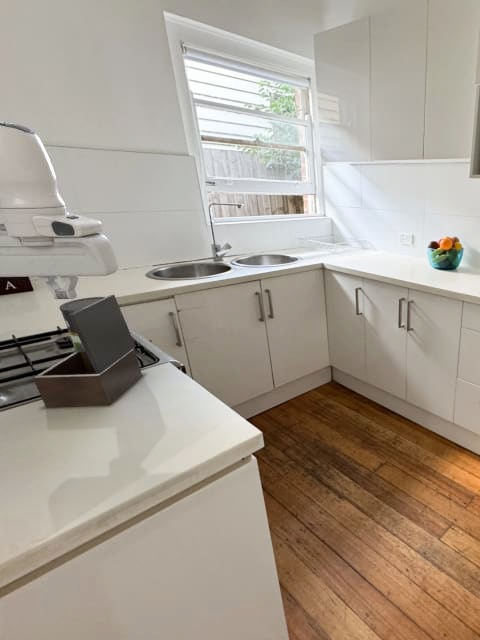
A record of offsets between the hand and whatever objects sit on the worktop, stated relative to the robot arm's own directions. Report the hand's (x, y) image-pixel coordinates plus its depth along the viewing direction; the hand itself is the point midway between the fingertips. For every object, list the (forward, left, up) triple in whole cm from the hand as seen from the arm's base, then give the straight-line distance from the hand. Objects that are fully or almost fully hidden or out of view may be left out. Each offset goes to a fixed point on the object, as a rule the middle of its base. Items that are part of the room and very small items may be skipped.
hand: (66, 298), depth 73 cm
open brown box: (0, 0, -21) cm, 21 cm away
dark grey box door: (+5, 0, -7) cm, 9 cm away
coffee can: (-9, +17, -21) cm, 28 cm away
